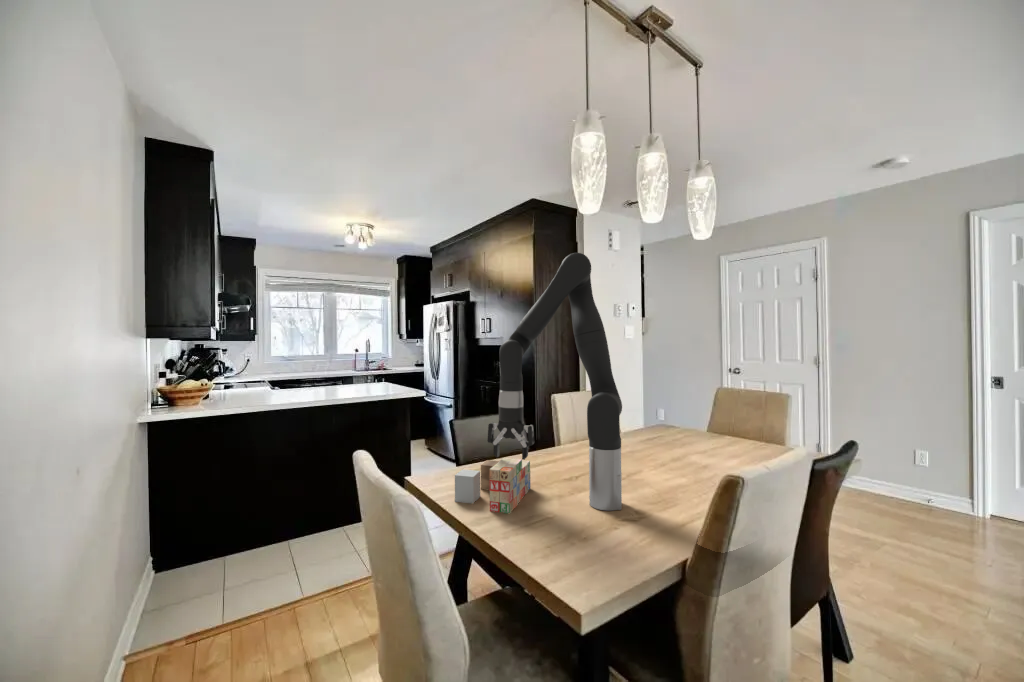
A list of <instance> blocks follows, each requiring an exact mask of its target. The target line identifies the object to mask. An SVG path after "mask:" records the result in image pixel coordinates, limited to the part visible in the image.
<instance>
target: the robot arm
mask: <svg viewBox="0 0 1024 682" xmlns="http://www.w3.org/2000/svg"><path fill="white" fill-rule="evenodd" d="M591 272H592V263H591V261H590V259H589V258H588V256H587V255H586V254H584V253H581V252H572V253H570V254H568V255H567V256H565V258H564V259H562V261H561V264H560V266H559V268H558V269H557V271H556V274H555V275H554V277H553V279H551V281H550V283H549V285H548V286H547V288H546V289H545V290H544V292H543V293H542V294H541V296H539V298H538V299H537V301H536V302H534V304H533V305H532V306H531V308H530V309H529V310H528V312H527V313H526V314H525V315H524V317H522V319H521V320H520V322H519V323H518V325H517V326H516V329H515V330H514V332H513V333H511V335H510V336H509V337H508V339H506V340H505V341H504V342H503V343H502V344H501V345H500V347H499V354H498V355H499V356H498V357H499V371H500V376H499V395H498V423H495V422H494V421H492V422H490V423H488V424H487V425H488V427H487V428H488V430H487V443H488V444H489V443H491V444H492V445H493V455H494V456H495V458H499V457H500V452H501V451H500V449H501V448H500V442H501V441H502V439H503V438H504V439H511V440H517V441H518V442H519V443H520V444H521V445H522V447H521V448H522V449H521V455H522V456H521V459H522V460H525V461H526V459H527V458H528V456H529V447H530V446H531V447H532V446H533V445H534V444H535V431H534V428H535V427H534V424H530V425H526V424H525V423H524V392H523V388H524V387H523V385H524V384H523V382H524V379H523V374H522V372H523V371H522V370H523V369H522V368H523V356H524V355H525V353H526V352H527V351H528V349H529V348H530V347H531V345H532V343H533V342H534V341H535V340H536V339H537V338H539V336H540V334H541V333H542V332H543V331H544V329H545V328H546V327H547V326H548V325H549V323H550V322H551V320H552V318H553V317H554V316H555V314H556V312H557V311H558V309H559V308H560V306H561V304H562V303H563V302H564V300H565V299H566V298H567V297H568V300H569V304H570V311H571V312H570V313H571V322H572V331H573V336H574V343H575V345H576V349H577V353H578V356H579V358H580V359H579V360H580V361H581V363H582V365H583V368H584V369H585V371H586V374H587V377H588V381H589V385H590V391H591V393H590V394H591V397H590V399H589V400H588V403H587V406H586V407H587V409H586V425H587V427H586V428H587V429H586V431H587V438H588V447H589V448H588V452H589V453H588V454H589V455H588V458H589V459H588V460H589V463H588V465H589V466H588V468H589V469H588V470H589V471H588V472H589V473H588V474H589V475H588V476H589V477H588V480H589V481H588V482H589V483H588V484H589V485H588V486H589V489H588V490H589V496H588V498H589V505H590V507H592V508H594V509H596V510H599V511H600V510H601V511H607V512H608V511H621V510H622V504H623V503H622V501H623V500H622V499H623V497H622V494H623V493H622V491H623V490H622V488H623V487H622V477H623V476H622V475H623V473H622V438H621V433H620V431H621V430H620V429H621V428H620V424H621V422H620V416H621V414H622V412H623V403H622V399H621V397H620V393H619V391H618V388H617V385H616V382H615V379H614V375H613V369H612V364H611V363H612V362H611V355H610V351H609V343H608V339H607V335H606V331H605V326H604V324H603V321H602V317H601V314H600V312H599V309H598V308H597V304H596V303H595V300H594V299H595V298H594V296H593V295H594V294H593V288H592V279H591V274H592V273H591ZM496 429H497V430H498V431H499V433H498V434H497V436H496V437H495V430H496ZM524 430H525V432H526V433H527V439H526V436H525V435H524V434H523V431H524ZM494 437H495V438H494Z"/></svg>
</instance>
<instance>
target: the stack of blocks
mask: <svg viewBox="0 0 1024 682" xmlns="http://www.w3.org/2000/svg"><path fill="white" fill-rule="evenodd" d="M498 461H499V462H498V463H497V464H496V465H494V466H493V467H492V468H490V481H489V486H490V490H489V512H492V511H495V512H494V513H500V512H504V513H503V514H508V513H510V514H511V513H512V512H513V511H512V510H513V509H514V508H515V509H516V508H517V506H518V505H519V504H520V503H521V501H522V500H523V498H524V497H525V496H526V495H527V493H528V492H529V491H530V490H531V461H530V460H526V459H525V460H522V458H513V457H512V458H509V457H503V458H502V459H500V460H498ZM529 489H530V490H529ZM528 490H529V491H528ZM525 494H526V495H525ZM524 495H525V496H524ZM523 496H524V497H523ZM522 497H523V498H522ZM521 499H522V500H521ZM520 500H521V501H520ZM519 502H520V503H519ZM518 503H519V504H518ZM515 509H514V510H515ZM511 511H512V512H511Z"/></svg>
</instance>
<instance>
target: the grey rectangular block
mask: <svg viewBox="0 0 1024 682" xmlns="http://www.w3.org/2000/svg"><path fill="white" fill-rule="evenodd" d="M479 498H481V470H472V469H461V470H460V471H458V472H457V473H456V474H454V502H455V503H464V504H472V503H473V504H475V503H476V502H477V501H478V499H479ZM475 501H476V502H475ZM474 502H475V503H474Z"/></svg>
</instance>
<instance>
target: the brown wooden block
mask: <svg viewBox="0 0 1024 682" xmlns="http://www.w3.org/2000/svg"><path fill="white" fill-rule="evenodd" d="M499 461H500V460H491V459H487V460H485V461H483V463H481V464H480V490H482V489H488V490H487V491H490V486H489V481H490V468H492V467H493V466H494V465H496V464H497V463H498V462H499Z"/></svg>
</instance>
